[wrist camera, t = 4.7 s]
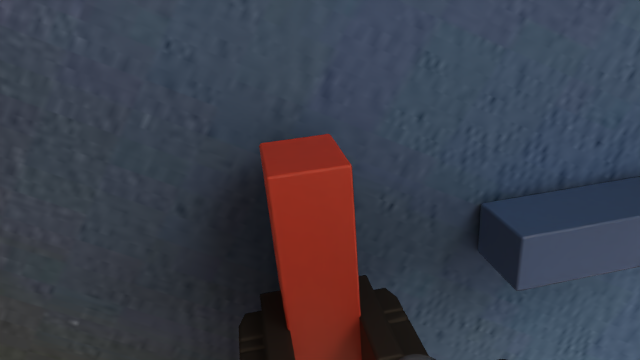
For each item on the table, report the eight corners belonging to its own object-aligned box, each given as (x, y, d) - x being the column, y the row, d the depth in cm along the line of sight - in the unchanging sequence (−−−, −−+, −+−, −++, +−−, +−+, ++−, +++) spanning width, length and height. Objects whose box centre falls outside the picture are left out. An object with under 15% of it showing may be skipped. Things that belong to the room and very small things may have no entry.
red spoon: (214, 148, 12) (211, 185, 10) (372, 126, 13) (402, 157, 11) (271, 453, 17) (278, 523, 15) (383, 427, 18) (406, 491, 16)
